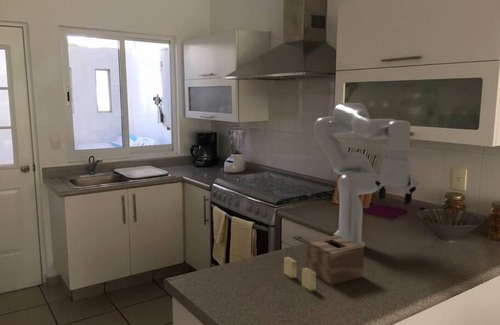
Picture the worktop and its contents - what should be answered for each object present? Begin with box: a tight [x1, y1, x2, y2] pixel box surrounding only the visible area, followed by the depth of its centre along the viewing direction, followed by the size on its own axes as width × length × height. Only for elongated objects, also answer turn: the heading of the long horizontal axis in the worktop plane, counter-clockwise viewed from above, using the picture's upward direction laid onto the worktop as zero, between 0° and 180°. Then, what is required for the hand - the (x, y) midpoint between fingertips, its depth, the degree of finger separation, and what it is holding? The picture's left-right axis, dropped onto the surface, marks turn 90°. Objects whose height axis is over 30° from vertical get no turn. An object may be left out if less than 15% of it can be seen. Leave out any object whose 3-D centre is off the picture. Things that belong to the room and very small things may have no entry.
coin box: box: [306, 235, 365, 286], centre depth 149 cm, size 14×14×11 cm
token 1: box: [283, 256, 298, 279], centre depth 148 cm, size 5×2×6 cm, turn 28°
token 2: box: [301, 266, 317, 292], centre depth 138 cm, size 5×2×6 cm, turn 28°
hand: (394, 201), depth 152 cm, fingers open, 9 cm apart
